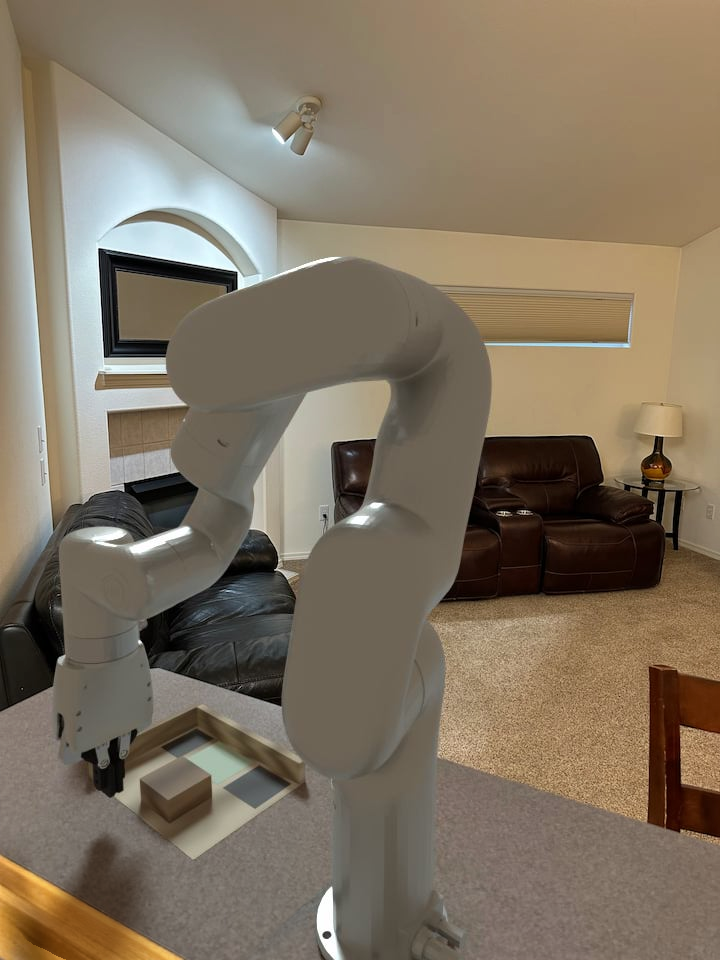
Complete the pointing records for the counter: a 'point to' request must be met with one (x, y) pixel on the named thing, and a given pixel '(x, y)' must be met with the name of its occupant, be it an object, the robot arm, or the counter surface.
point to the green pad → (220, 761)
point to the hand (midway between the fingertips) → (110, 789)
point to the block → (175, 788)
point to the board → (230, 798)
